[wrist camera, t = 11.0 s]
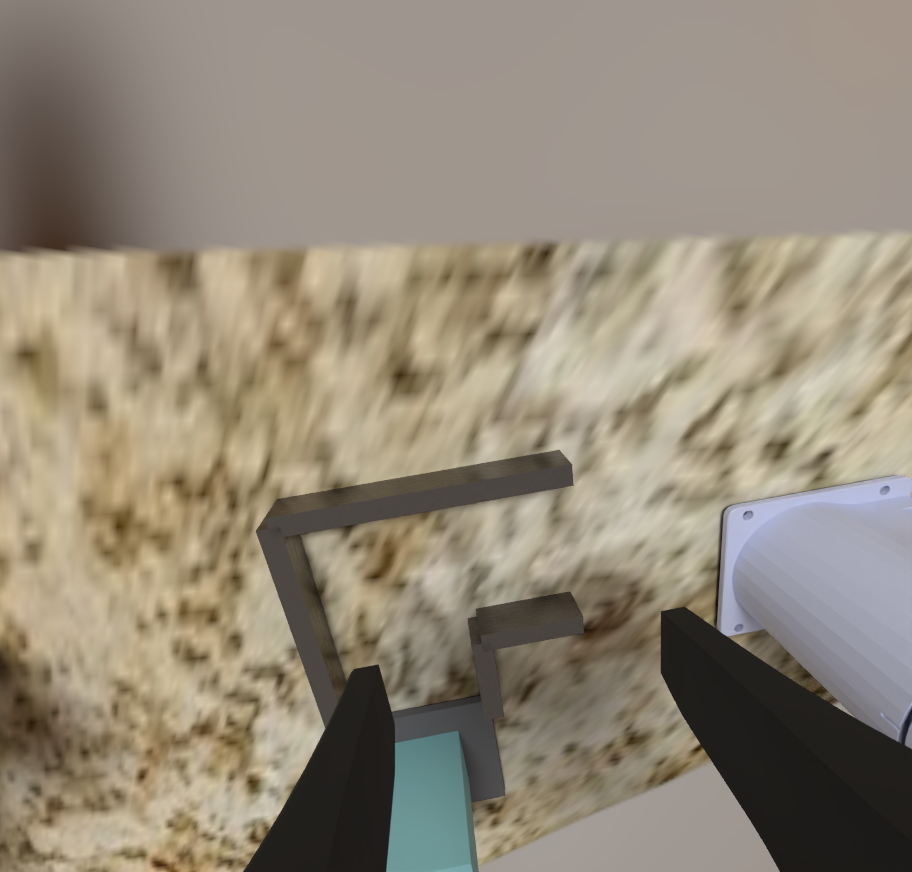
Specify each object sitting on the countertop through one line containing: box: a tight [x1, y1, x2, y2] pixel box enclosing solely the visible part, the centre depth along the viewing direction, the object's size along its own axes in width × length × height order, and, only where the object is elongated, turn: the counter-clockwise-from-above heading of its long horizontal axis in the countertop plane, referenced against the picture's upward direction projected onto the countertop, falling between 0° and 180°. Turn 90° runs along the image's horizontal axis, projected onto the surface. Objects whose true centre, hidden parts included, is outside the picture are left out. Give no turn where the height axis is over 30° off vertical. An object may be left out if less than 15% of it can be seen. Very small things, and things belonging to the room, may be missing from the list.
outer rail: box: [256, 450, 573, 728], centre depth 21 cm, size 14×14×2 cm
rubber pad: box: [392, 695, 505, 802], centre depth 25 cm, size 8×8×1 cm
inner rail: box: [468, 592, 584, 720], centre depth 23 cm, size 6×6×2 cm
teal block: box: [386, 731, 479, 872], centre depth 22 cm, size 4×4×6 cm
